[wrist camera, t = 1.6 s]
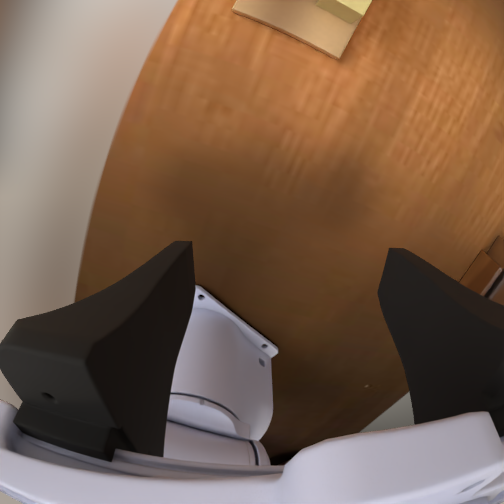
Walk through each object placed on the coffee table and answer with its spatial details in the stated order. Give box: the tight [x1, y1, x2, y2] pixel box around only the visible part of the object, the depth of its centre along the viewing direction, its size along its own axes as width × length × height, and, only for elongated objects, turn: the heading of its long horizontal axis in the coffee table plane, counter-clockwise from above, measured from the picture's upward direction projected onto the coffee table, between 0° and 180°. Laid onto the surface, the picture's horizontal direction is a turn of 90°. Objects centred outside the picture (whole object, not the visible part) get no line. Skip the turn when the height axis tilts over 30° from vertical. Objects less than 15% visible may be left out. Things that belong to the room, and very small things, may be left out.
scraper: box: [484, 236, 504, 305], centre depth 20 cm, size 2×8×8 cm, turn 154°
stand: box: [459, 250, 503, 296], centre depth 22 cm, size 2×4×3 cm, turn 155°
